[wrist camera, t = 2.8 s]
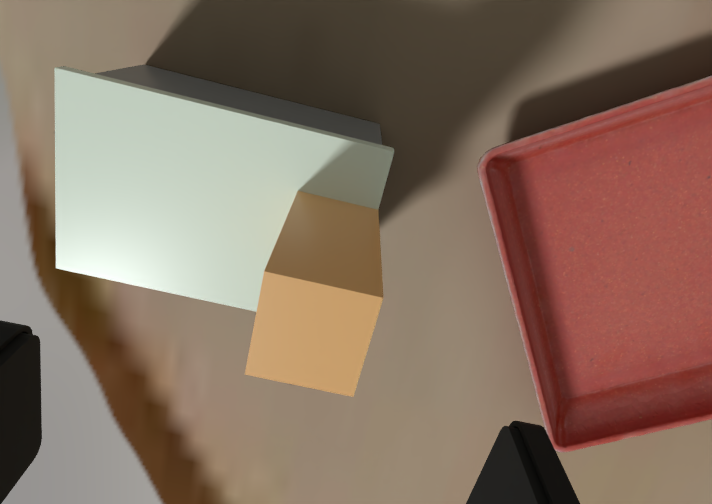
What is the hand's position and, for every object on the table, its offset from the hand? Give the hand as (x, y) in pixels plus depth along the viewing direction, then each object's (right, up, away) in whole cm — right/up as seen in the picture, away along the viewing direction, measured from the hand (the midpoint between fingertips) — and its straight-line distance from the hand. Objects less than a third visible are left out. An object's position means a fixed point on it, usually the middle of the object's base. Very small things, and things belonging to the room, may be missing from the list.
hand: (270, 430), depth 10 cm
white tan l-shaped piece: (-3, +5, +9) cm, 11 cm away
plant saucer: (+18, +4, +16) cm, 25 cm away
